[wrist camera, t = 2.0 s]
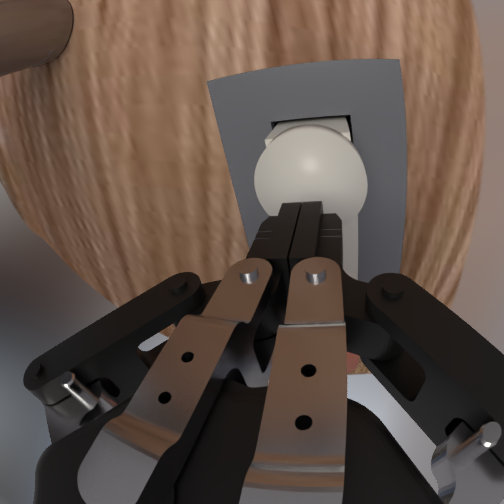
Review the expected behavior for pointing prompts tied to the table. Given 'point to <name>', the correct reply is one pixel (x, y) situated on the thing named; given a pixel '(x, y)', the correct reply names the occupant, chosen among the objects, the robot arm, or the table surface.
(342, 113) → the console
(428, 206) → the table surface
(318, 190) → the white plunger
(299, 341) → the robot arm
